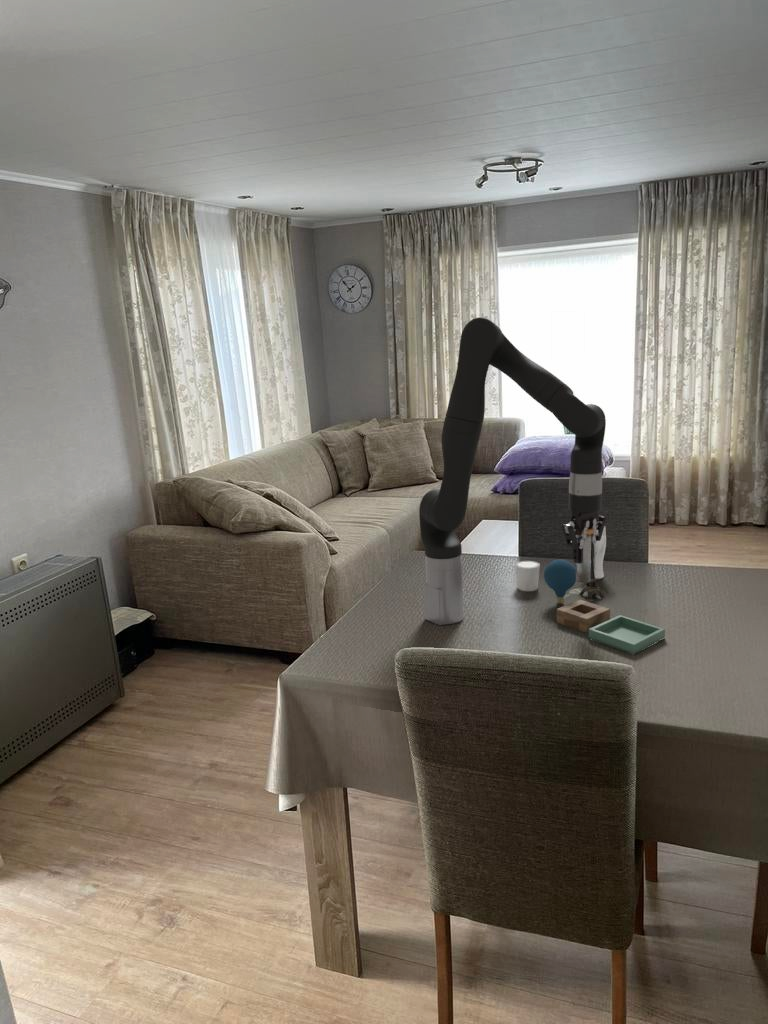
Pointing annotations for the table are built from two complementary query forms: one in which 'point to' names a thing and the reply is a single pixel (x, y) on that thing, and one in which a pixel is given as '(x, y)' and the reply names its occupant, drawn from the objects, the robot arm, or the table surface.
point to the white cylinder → (527, 575)
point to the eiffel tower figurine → (588, 588)
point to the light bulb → (560, 577)
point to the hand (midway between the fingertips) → (583, 560)
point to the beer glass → (599, 555)
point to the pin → (585, 559)
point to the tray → (626, 634)
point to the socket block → (582, 615)
